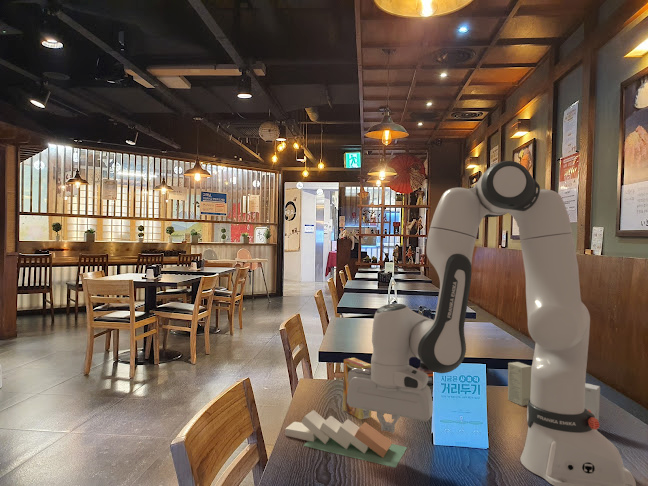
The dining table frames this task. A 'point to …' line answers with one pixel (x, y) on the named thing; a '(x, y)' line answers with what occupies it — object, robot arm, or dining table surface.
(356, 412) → the candy box
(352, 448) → the felt runner
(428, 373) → the supplement bottle
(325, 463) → the dining table surface
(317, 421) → the tile
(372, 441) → the tile
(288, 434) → the tile
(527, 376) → the skincare box
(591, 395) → the skincare box
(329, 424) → the tile
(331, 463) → the dining table surface
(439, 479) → the dining table surface
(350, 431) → the tile
